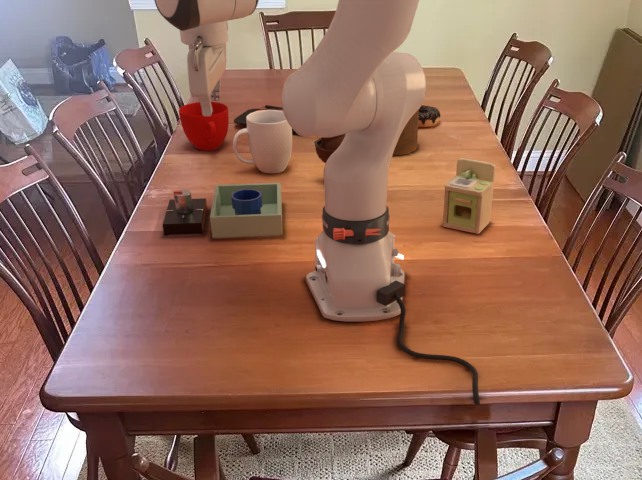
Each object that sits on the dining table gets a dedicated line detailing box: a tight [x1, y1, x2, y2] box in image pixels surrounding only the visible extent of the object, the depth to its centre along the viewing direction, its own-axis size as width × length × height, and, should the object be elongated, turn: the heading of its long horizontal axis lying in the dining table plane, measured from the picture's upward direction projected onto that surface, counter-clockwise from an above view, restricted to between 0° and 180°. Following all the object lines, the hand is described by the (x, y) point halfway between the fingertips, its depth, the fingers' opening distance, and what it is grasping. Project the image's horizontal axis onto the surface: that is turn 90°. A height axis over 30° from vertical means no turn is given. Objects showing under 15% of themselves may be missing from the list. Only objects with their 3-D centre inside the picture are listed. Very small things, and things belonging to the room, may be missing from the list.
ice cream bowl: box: [313, 134, 346, 164], centre depth 167 cm, size 11×11×15 cm
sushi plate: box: [233, 104, 296, 133], centre depth 211 cm, size 29×30×4 cm
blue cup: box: [231, 189, 262, 215], centre depth 152 cm, size 6×6×6 cm
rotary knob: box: [172, 189, 193, 214], centre depth 150 cm, size 4×4×4 cm
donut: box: [418, 104, 441, 128], centre depth 207 cm, size 11×12×4 cm
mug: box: [232, 110, 293, 174], centre depth 175 cm, size 15×11×13 cm
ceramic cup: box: [178, 101, 230, 151], centre depth 188 cm, size 13×17×10 cm
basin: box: [209, 182, 283, 239], centre depth 153 cm, size 18×15×5 cm
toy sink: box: [442, 157, 496, 235], centre depth 149 cm, size 8×7×13 cm
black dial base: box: [162, 197, 208, 236], centre depth 152 cm, size 13×8×3 cm, turn 5°
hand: (212, 107), depth 140 cm, fingers open, 8 cm apart
